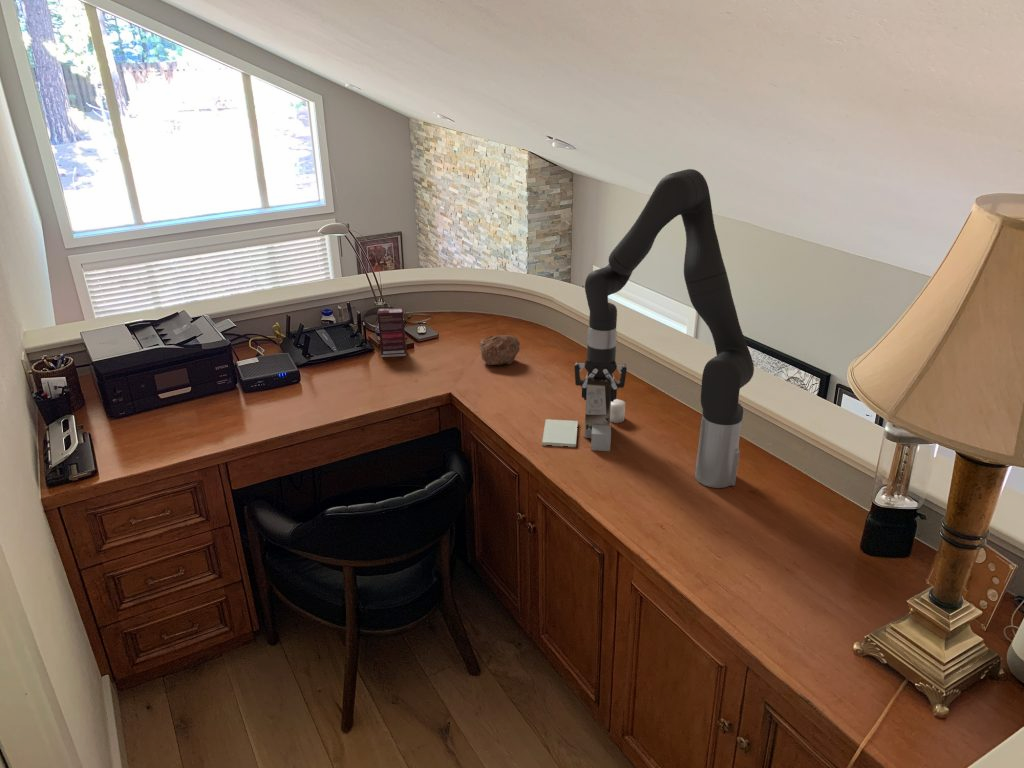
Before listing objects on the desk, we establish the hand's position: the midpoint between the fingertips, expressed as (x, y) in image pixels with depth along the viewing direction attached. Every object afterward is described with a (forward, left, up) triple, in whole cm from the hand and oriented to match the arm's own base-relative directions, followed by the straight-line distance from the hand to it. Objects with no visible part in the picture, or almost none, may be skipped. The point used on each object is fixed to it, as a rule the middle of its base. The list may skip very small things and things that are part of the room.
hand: (598, 399), depth 204 cm
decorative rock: (+33, -44, -10) cm, 56 cm away
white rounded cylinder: (-5, -8, -10) cm, 14 cm away
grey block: (-1, +8, -10) cm, 13 cm away
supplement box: (+70, -47, -10) cm, 85 cm away
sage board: (+10, +3, -10) cm, 14 cm away
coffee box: (0, 0, -10) cm, 10 cm away
